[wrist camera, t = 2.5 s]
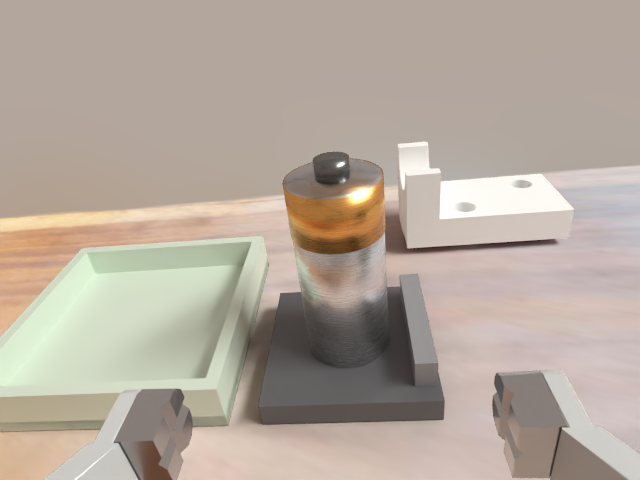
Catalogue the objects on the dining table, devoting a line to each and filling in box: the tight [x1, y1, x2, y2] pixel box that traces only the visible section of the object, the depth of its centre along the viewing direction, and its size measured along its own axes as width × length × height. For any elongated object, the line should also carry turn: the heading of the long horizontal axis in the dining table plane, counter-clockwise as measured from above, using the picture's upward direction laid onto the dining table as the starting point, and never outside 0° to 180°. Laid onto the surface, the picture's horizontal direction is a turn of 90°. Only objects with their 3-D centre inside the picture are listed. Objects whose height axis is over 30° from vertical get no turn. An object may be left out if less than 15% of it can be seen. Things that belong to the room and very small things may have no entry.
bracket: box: [397, 142, 574, 248], centre depth 39 cm, size 13×7×8 cm, turn 87°
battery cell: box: [283, 152, 389, 368], centre depth 26 cm, size 5×5×12 cm
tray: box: [0, 236, 269, 432], centre depth 33 cm, size 16×16×3 cm
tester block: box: [258, 274, 445, 424], centre depth 29 cm, size 10×10×3 cm
